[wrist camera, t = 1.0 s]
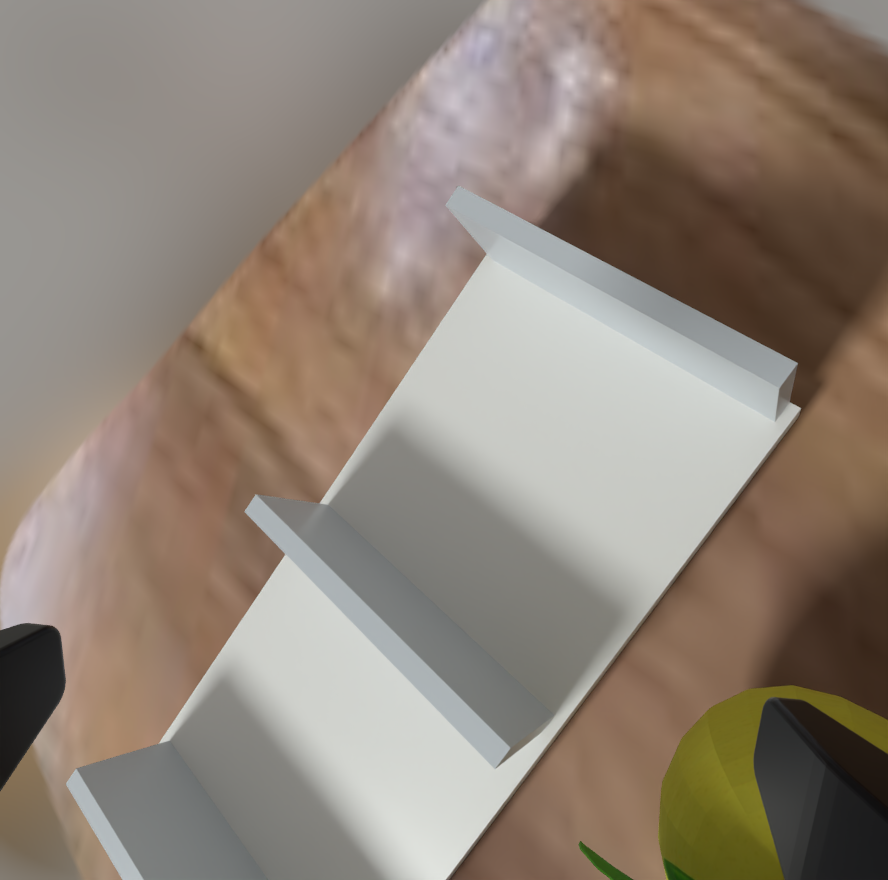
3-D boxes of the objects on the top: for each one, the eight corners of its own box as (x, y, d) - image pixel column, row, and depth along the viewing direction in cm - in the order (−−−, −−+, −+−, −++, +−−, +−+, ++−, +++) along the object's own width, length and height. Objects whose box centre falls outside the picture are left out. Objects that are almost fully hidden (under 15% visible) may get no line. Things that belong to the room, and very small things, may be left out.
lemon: (1042, 784, 14) (1557, 1176, 5) (883, 1001, 14) (1093, 1709, 5) (742, 594, 17) (729, 626, 8) (619, 779, 17) (476, 1003, 8)
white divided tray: (798, 416, 17) (812, 370, 13) (361, 996, 19) (258, 1108, 15) (507, 253, 21) (450, 181, 17) (178, 740, 24) (61, 776, 20)
